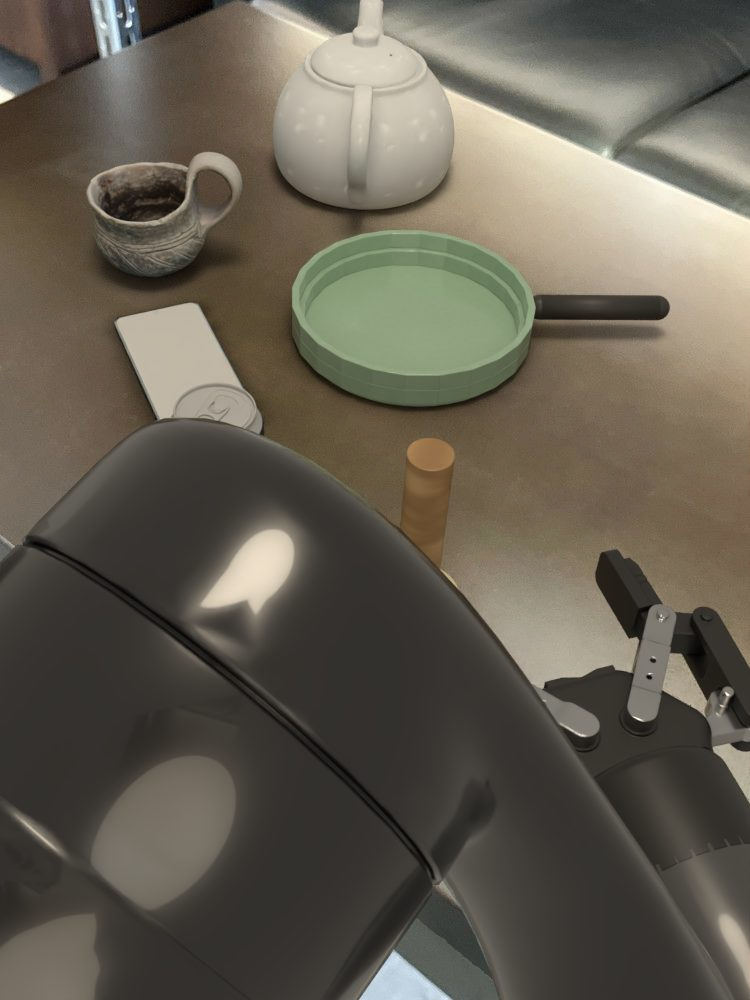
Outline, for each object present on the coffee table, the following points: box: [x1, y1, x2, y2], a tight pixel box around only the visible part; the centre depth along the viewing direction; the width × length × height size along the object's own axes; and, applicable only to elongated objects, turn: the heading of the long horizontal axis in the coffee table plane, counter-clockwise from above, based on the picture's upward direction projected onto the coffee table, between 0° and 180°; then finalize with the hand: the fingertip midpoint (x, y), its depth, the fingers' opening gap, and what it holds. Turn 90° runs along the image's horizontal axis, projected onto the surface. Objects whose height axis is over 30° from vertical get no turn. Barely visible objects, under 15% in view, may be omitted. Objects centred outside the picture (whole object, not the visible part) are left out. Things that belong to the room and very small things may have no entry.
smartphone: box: [113, 301, 246, 421], centre depth 88 cm, size 7×1×15 cm
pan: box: [291, 229, 536, 408], centre depth 92 cm, size 19×19×4 cm
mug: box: [85, 151, 243, 278], centre depth 95 cm, size 10×12×10 cm
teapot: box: [272, 0, 455, 211], centre depth 105 cm, size 19×18×14 cm
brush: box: [399, 437, 460, 590], centre depth 67 cm, size 6×6×15 cm
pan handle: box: [533, 293, 671, 321], centre depth 92 cm, size 12×2×2 cm, turn 93°
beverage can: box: [171, 383, 265, 436], centre depth 72 cm, size 6×6×12 cm
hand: (519, 580), depth 52 cm, fingers open, 8 cm apart
